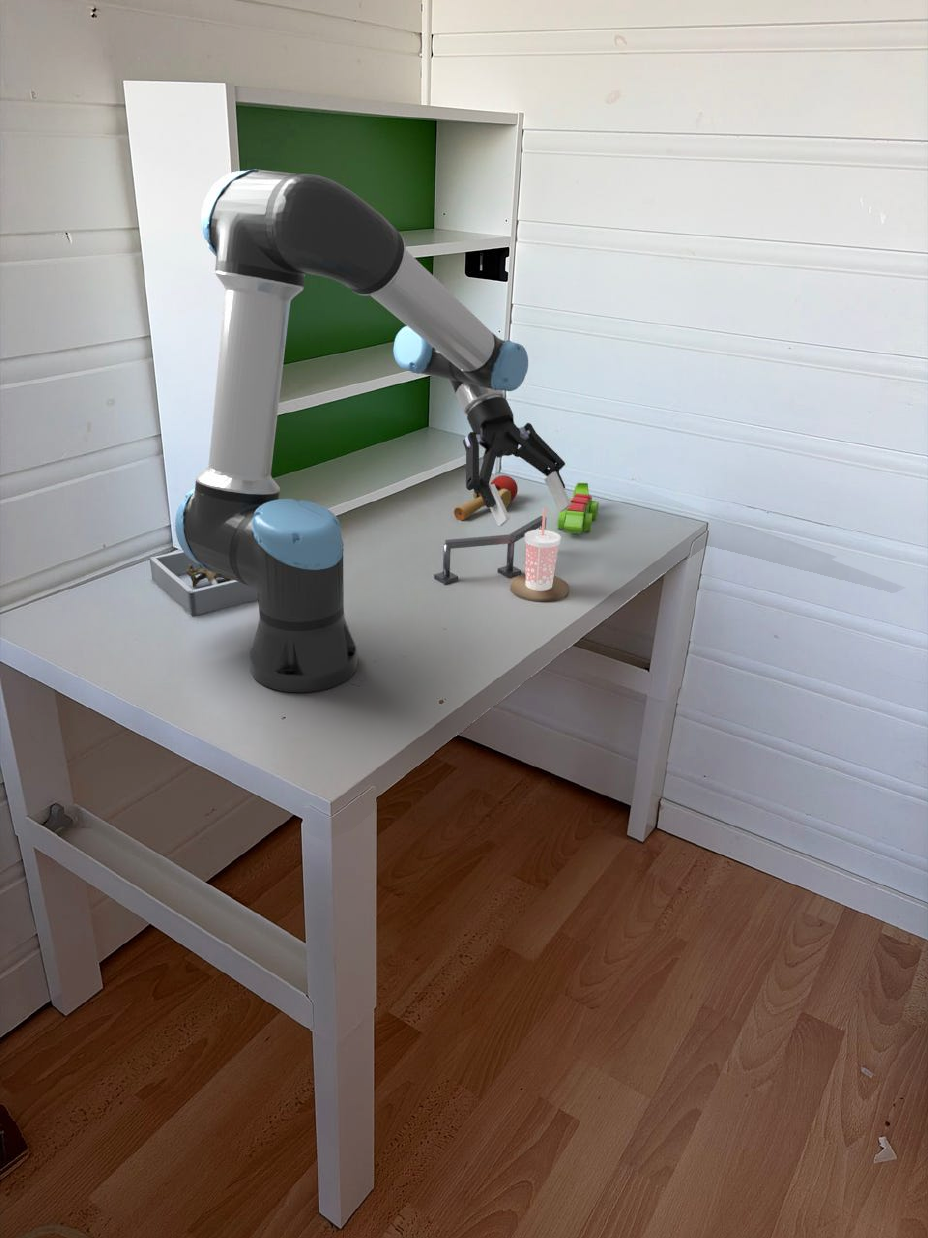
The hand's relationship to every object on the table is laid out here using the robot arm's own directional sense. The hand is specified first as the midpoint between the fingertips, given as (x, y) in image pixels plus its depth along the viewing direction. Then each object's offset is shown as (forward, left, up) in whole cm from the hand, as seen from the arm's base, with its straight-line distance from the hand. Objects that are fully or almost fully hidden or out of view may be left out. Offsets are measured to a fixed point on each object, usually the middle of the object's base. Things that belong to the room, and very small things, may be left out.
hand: (535, 515), depth 158 cm
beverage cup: (-1, -3, -12) cm, 12 cm away
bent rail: (-1, +7, -12) cm, 14 cm away
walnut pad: (-1, -3, -12) cm, 13 cm away
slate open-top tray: (-47, +28, -12) cm, 56 cm away
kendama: (+16, +33, -13) cm, 39 cm away
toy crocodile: (+27, +17, -13) cm, 34 cm away
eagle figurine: (-46, +28, -13) cm, 55 cm away
